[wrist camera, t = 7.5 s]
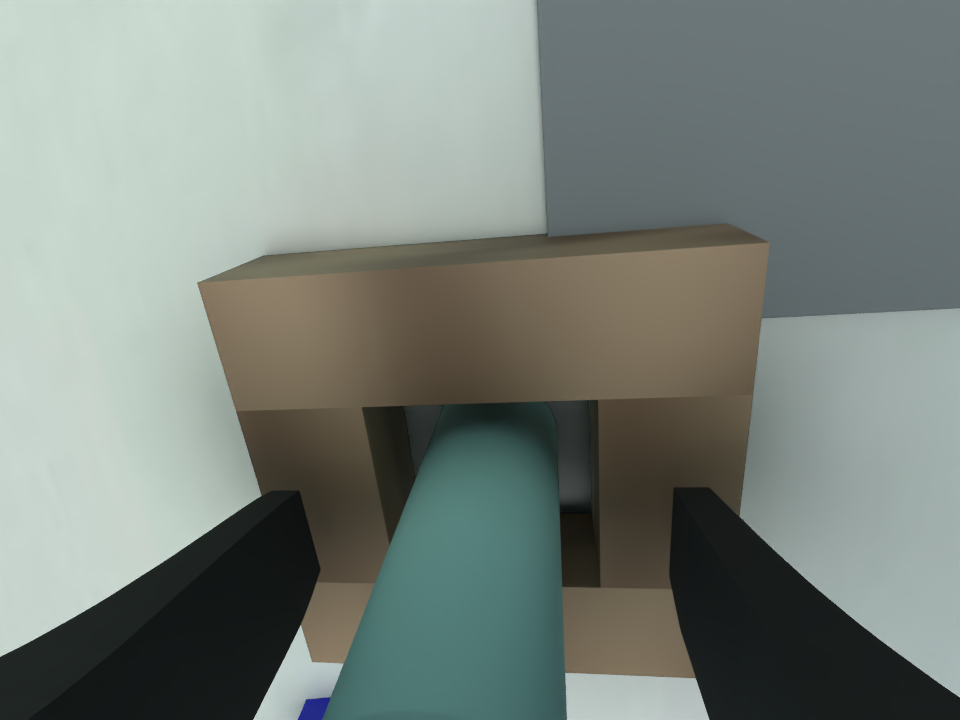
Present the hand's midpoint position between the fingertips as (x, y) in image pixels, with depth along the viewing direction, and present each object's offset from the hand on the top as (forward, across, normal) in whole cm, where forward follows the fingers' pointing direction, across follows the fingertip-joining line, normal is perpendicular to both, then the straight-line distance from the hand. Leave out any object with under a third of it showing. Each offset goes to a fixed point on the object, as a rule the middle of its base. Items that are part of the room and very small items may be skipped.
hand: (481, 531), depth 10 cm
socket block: (+3, 0, 0) cm, 3 cm away
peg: (+3, 0, 0) cm, 3 cm away
